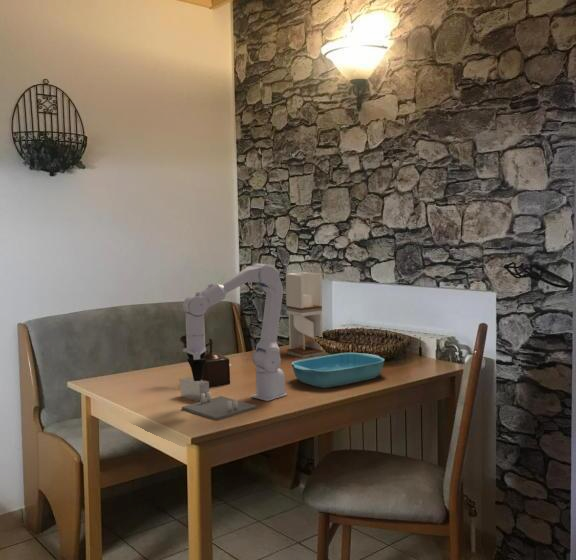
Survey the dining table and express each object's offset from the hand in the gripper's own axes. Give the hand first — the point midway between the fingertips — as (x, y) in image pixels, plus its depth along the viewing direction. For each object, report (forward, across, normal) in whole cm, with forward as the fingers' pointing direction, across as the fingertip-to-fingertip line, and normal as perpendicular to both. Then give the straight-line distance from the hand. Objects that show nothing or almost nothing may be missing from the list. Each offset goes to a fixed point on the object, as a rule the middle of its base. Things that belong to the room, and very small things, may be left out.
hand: (197, 377), depth 200 cm
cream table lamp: (+10, -71, +48) cm, 86 cm away
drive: (+10, -13, -1) cm, 16 cm away
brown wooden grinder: (+10, -30, +3) cm, 32 cm away
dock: (+10, +2, +6) cm, 12 cm away
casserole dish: (+10, -26, +52) cm, 59 cm away
